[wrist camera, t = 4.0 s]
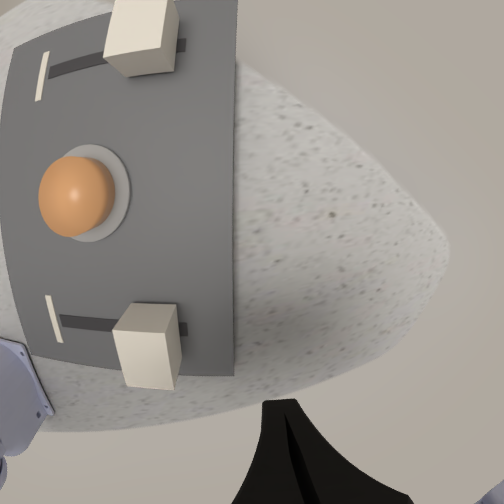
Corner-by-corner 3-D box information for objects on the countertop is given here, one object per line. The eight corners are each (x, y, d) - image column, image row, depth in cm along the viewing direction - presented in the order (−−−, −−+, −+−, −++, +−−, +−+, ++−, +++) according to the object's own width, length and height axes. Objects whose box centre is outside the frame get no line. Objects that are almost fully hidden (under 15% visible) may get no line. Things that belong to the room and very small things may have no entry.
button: (116, 228, 15) (103, 236, 13) (58, 231, 15) (41, 237, 13) (114, 153, 14) (100, 151, 12) (55, 162, 14) (37, 161, 12)
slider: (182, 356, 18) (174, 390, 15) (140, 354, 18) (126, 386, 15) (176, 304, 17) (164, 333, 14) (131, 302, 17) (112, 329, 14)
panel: (233, 363, 21) (234, 380, 19) (39, 346, 20) (29, 357, 18) (237, 8, 14) (238, -7, 12) (23, 52, 13) (11, 46, 11)
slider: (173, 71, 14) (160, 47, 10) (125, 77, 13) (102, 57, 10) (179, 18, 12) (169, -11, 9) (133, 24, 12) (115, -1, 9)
